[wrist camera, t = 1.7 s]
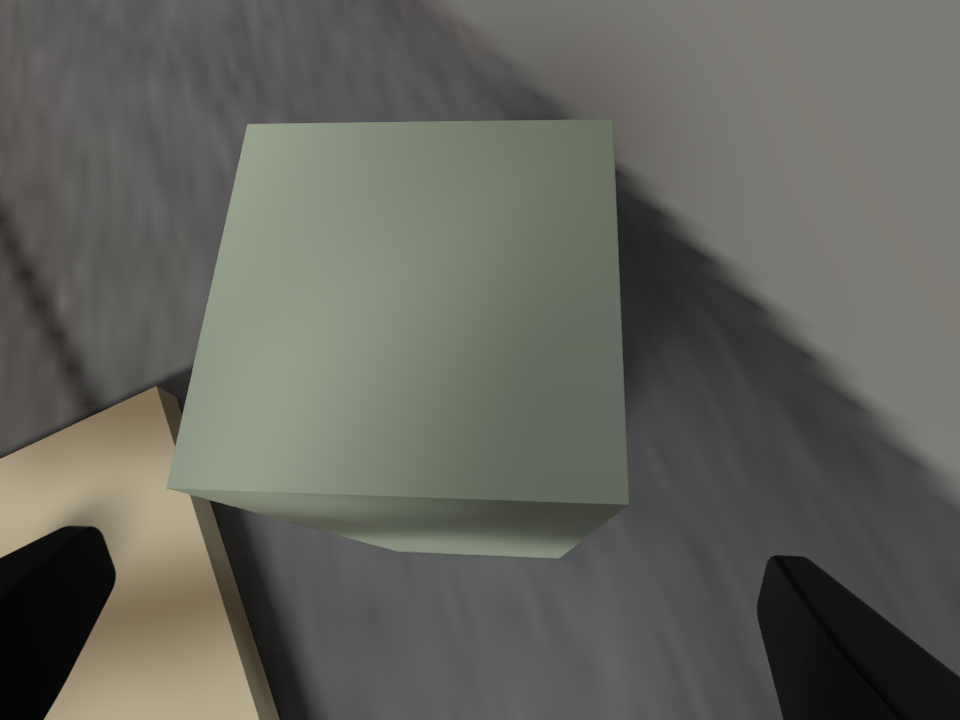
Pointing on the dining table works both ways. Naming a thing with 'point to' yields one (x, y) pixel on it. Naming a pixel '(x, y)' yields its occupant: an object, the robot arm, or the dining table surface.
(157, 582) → the base
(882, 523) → the dining table surface
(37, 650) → the robot arm
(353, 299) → the block
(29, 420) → the dining table surface
